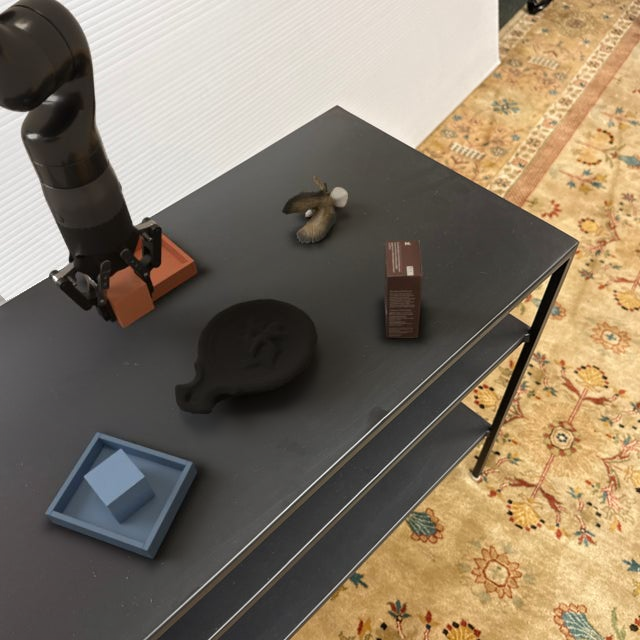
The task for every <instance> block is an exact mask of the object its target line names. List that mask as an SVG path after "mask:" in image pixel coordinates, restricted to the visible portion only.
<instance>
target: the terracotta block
mask: <svg viewBox="0 0 640 640" xmlns="http://www.w3.org/2000/svg"><path fill="white" fill-rule="evenodd" d="M107 300H108V301H109V302H110V304H111V306H112V309H113V311H114V313H115V316H116V318H117V320H116V321H115V322H117V323H118V324H119V325H120V326H121V327H122V328H123V329H125V328H127V327H128V326H130V325H131V324H133V323H134V322H136V321H137V320H138V319H140V318H142V317H144V316H145V315H147V314H148V313H150V312H151V311H153V310H154V309H155V305H154V301H153V302H152V299H151V296H150V293H149V290H148V288H147V285H146V283H145V282H144V281H143V280H142V279H141V278H140V277H138V276H137V275H136V274H135V273H134V272H133V271H132V270H131V269H130V268H129V267H127V268H125V269H123V270H120V271H118V272H116V273H115V274H114V275H113V276H112V277H110V288H109V289H108V290H107Z"/></svg>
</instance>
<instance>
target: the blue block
mask: <svg viewBox="0 0 640 640" xmlns="http://www.w3.org/2000/svg"><path fill="white" fill-rule="evenodd" d="M84 478H85V479H86V481H87V482H88V483H89V485H90V486H91V488H92V489H93V490H94V492H95V493H96V494H97V496H98V497H99V498H100V500H101V501H102V502H103V503H104V505H105V506H106V507H107V509H108V510H109V511H110V512H111V514H112V515H113V516H114V518H115V519H116V520H117V521H118V523H119V524H120V523H121V522H123V521H124V520H125V519H126V518H128V517H129V516H130V515H131V514H133V513H134V512H135V511H136V510H138V509H139V508H140V507H141V506H143V505H144V504H145V503H146V502H148V501H149V500H150V499H151V498H153V497H154V496H155V493H154V492H153V490H152V488H151V486H150V485H149V483H148V481H147V479H146V477H145V476H144V475H143V473H142V472H141V471H140V470H139V469H138V468H137V466H136V465H135V464H134V463H133V462H132V461H131V459H130V458H129V457H128V456H127V455H126V453H125V452H124V451H123V450H122V449H119V450H118V451H117V452H115V453H114V454H113V455H111V456H110V457H109V458H107V459H106V460H105V461H103V462H102V463H101V464H99V465H98V466H97V467H95V468H94V469H93V470H91V471H90V472H89V473H87V474H86V475H85V476H84Z"/></svg>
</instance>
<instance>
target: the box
mask: <svg viewBox="0 0 640 640" xmlns="http://www.w3.org/2000/svg"><path fill="white" fill-rule="evenodd" d="M420 242H421V241H420V240H419V239H414V240H413V239H411V240H408V239H407V240H386V241H385V254H384V255H385V263H384V267H385V269H384V314H385V316H384V317H385V337H386V338H387V339H393V338H394V339H413V338H415V339H416V338H418V337H419V330H420V329H419V328H420V316H421V303H422V291H423V266H422V259H423V258H422V252H421V243H420Z"/></svg>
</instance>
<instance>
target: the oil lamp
mask: <svg viewBox="0 0 640 640" xmlns="http://www.w3.org/2000/svg"><path fill="white" fill-rule="evenodd" d="M318 336H319V335H318V332H317V327H316V325H315V322H314V321H313V319H312V318H311V316H309V314H308V313H306V311H304V310H303V309H302V308H299V307H297V306H296V305H294V304H292V303H290V302H286V301H282V300H277V299H273V298H258V299H252V300H245V301H242V302H238V303H235V304H232V305H230V306H228V307H226V308H224V309H222V310H221V311H219V312H217V313H216V314H215V315H214V316H213V317H212V318H210V319H209V321H208V322H207V324H206V325H205V326H204V328H203V329H202V331H201V334H200V336H199V339H198V343H197V358H196V361H194V363H193V367H194V370H195V376H194V379H193V380H191V382H189V383H185V384H179V383H178V384H176V385H175V386H174V397H175V403H176V405H177V406H178V407H179V409H180V410H181V411H182V412H184V413H189V414H193V415H211V414H212V413H214V407H215V406H216V405H218V404H219V403H221V402H223V401H225V400H229V399H231V398H234V397H241V396H245V395H250V394H261V393H266V392H269V391H272V390H275V389H277V388H279V387H281V386H284V385H285V384H287V383H289V382H290V381H292V380H293V379H295V378H296V377H297V376H299V375H300V374H301V373H302V372H303V371H304V370H305V369H306V368H307V366H308V365H309V364H310V362H311V361H312V359H313V357H314V355H315V352H316V349H317V344H318Z"/></svg>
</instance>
